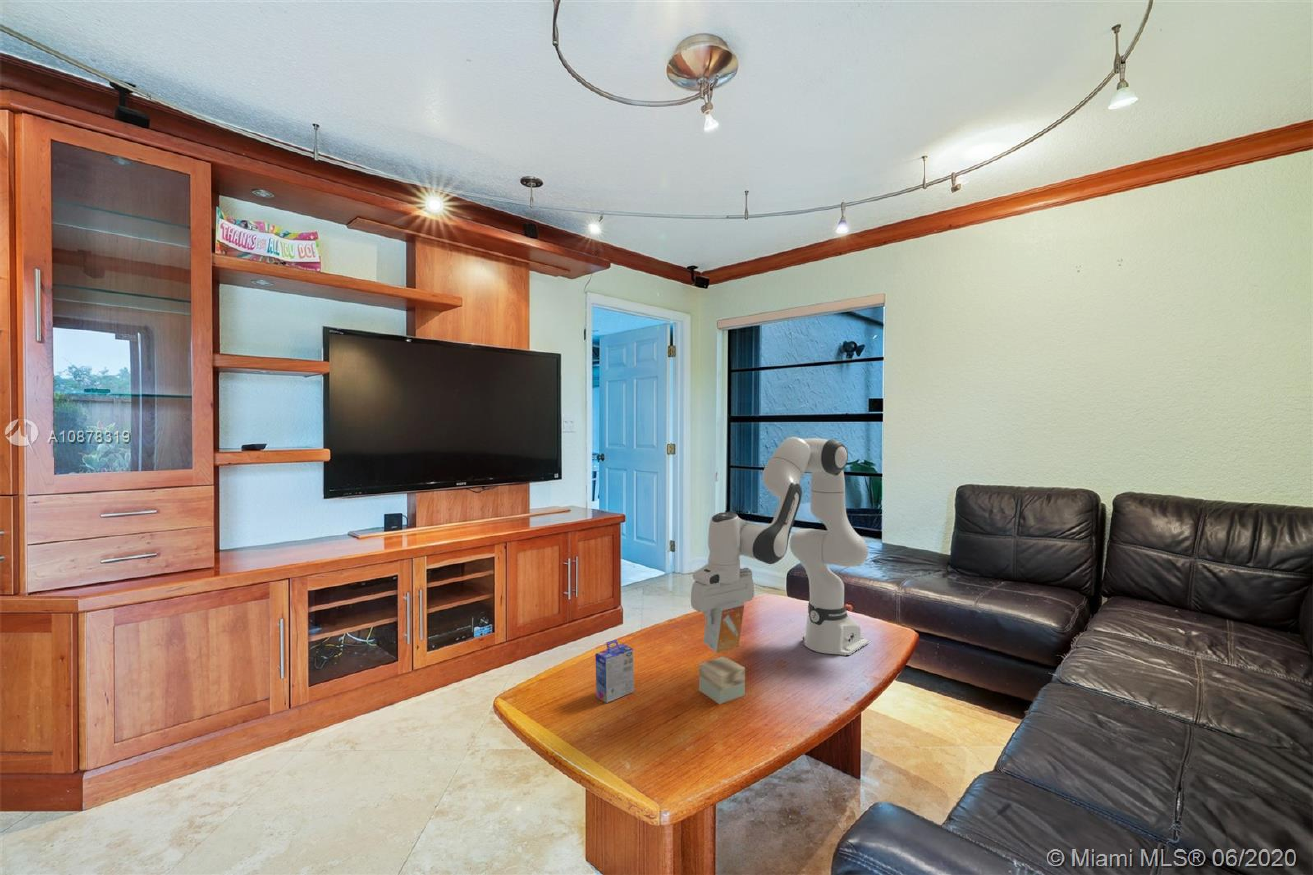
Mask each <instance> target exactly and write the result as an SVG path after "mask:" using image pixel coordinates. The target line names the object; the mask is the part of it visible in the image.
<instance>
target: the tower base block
mask: <svg viewBox="0 0 1313 875" xmlns="http://www.w3.org/2000/svg"><path fill="white" fill-rule="evenodd" d="M698 679H699V680H698V691H699V692H700V693H702V694H704V695H705V696H707V697H708V698H710V699H711V700H712V701H713V702H715V703H717V704H719V705H722V704H724V703H727V702H730V701H733V700H736V699H738V698H740V697H744V696H745V695H746V681H745V682H744V683H741V684H738V685H736V686H733V687H730V688H728V689H725V690H722V691H720V690H718V689H716V688H715V687H713V686H711V685H710V684H708V683H707V682H705V681H703V680H702V679H700V678H699V677H698Z"/></svg>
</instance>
